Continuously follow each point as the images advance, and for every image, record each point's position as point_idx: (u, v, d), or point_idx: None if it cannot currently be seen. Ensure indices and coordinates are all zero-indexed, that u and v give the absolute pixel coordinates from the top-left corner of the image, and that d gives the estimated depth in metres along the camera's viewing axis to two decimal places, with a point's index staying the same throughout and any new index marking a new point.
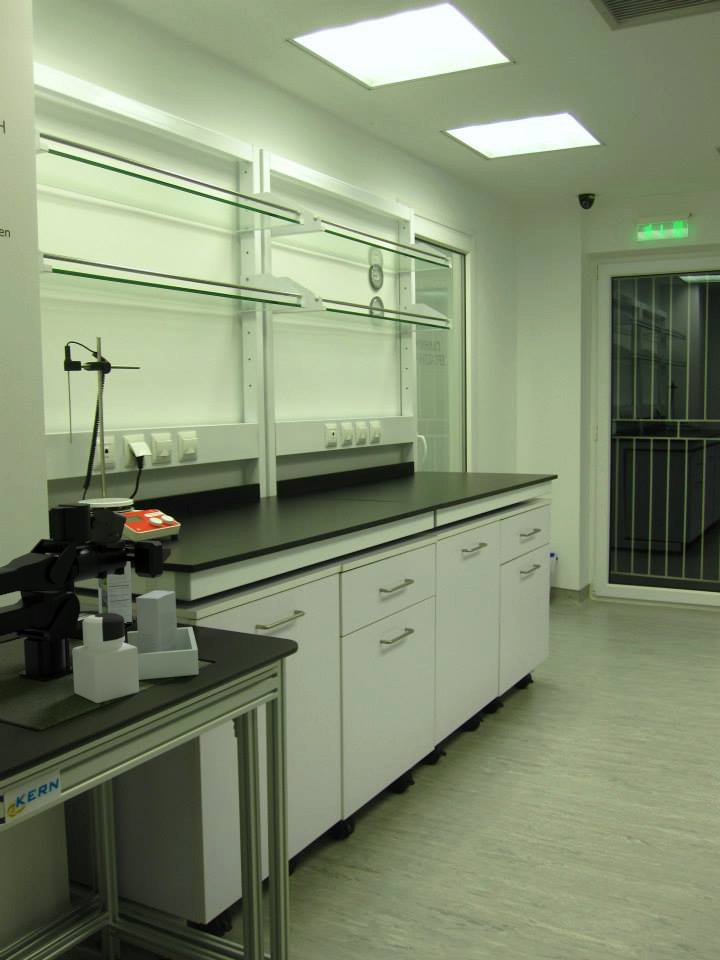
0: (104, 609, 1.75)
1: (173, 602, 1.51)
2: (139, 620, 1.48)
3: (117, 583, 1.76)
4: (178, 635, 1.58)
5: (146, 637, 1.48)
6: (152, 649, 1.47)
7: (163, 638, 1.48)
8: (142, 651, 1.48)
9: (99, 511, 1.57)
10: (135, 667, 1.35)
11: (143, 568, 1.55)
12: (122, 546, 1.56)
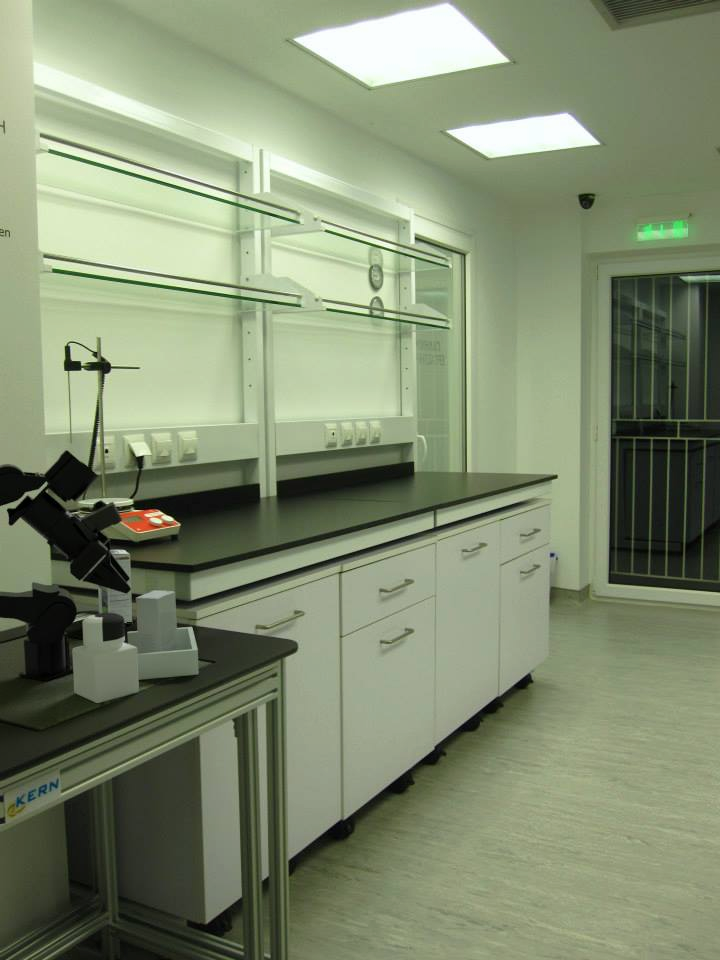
0: (104, 609, 1.75)
1: (172, 602, 1.51)
2: (139, 620, 1.48)
3: None
4: (178, 635, 1.58)
5: (146, 637, 1.48)
6: (152, 649, 1.47)
7: (163, 638, 1.48)
8: (142, 651, 1.48)
9: (111, 502, 1.49)
10: (135, 667, 1.35)
11: (74, 559, 1.39)
12: (89, 537, 1.44)
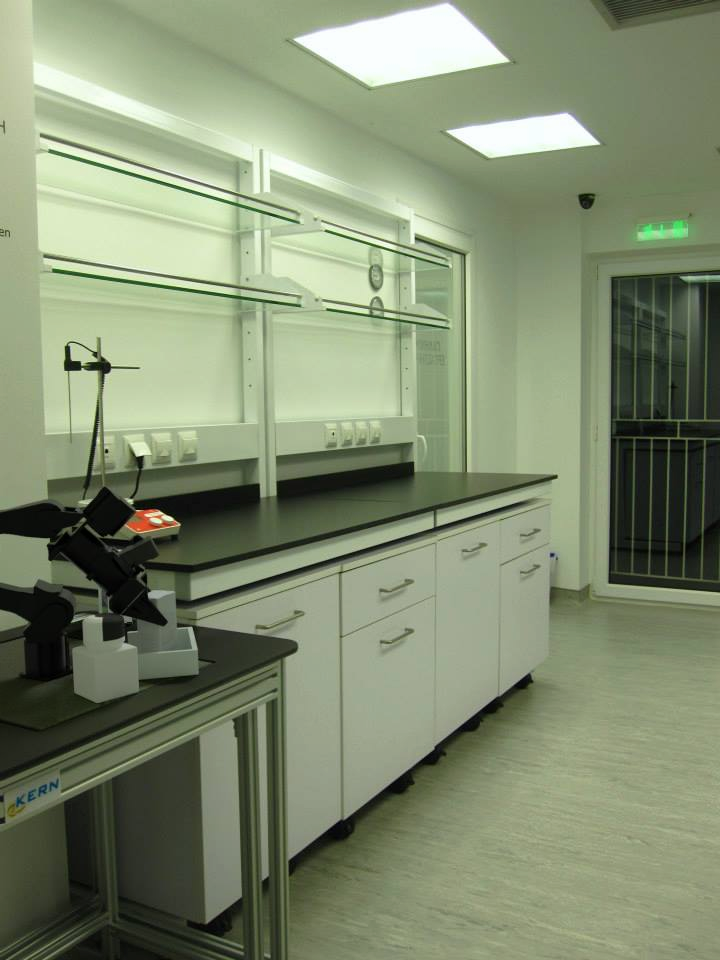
0: (104, 609, 1.75)
1: (173, 602, 1.51)
2: (139, 620, 1.48)
3: None
4: (178, 635, 1.58)
5: (146, 637, 1.48)
6: (152, 649, 1.47)
7: (163, 638, 1.48)
8: (142, 651, 1.48)
9: (149, 536, 1.50)
10: (135, 667, 1.35)
11: (112, 595, 1.41)
12: (127, 572, 1.45)
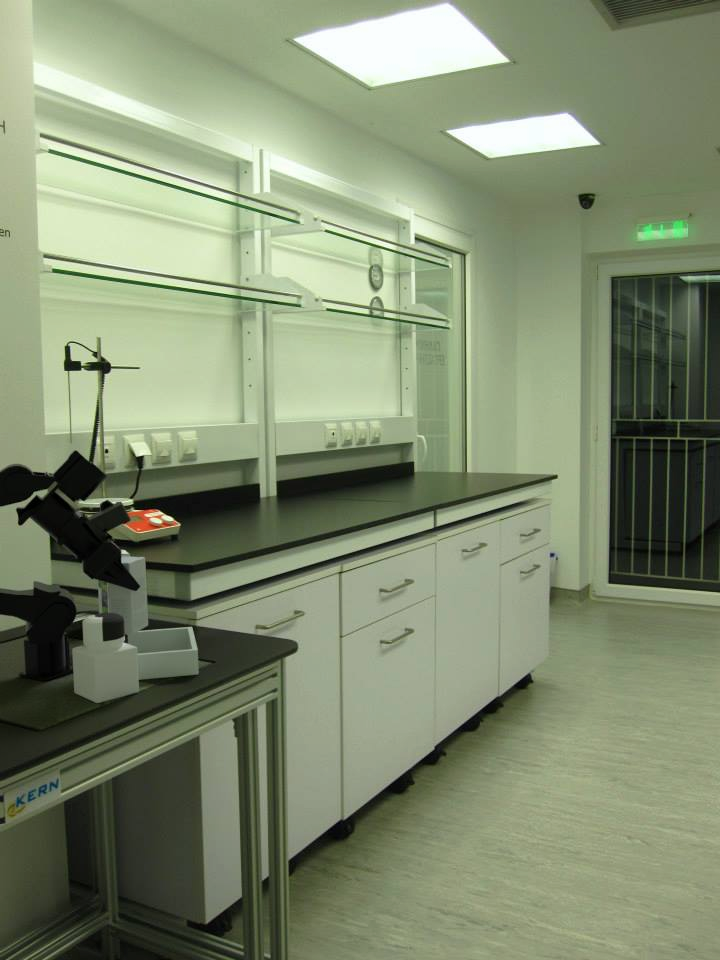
0: (104, 609, 1.75)
1: (143, 567, 1.51)
2: (110, 585, 1.47)
3: None
4: (178, 635, 1.58)
5: (118, 602, 1.47)
6: (124, 614, 1.47)
7: (135, 603, 1.48)
8: None
9: (119, 502, 1.50)
10: (135, 667, 1.35)
11: (86, 558, 1.40)
12: (99, 536, 1.45)
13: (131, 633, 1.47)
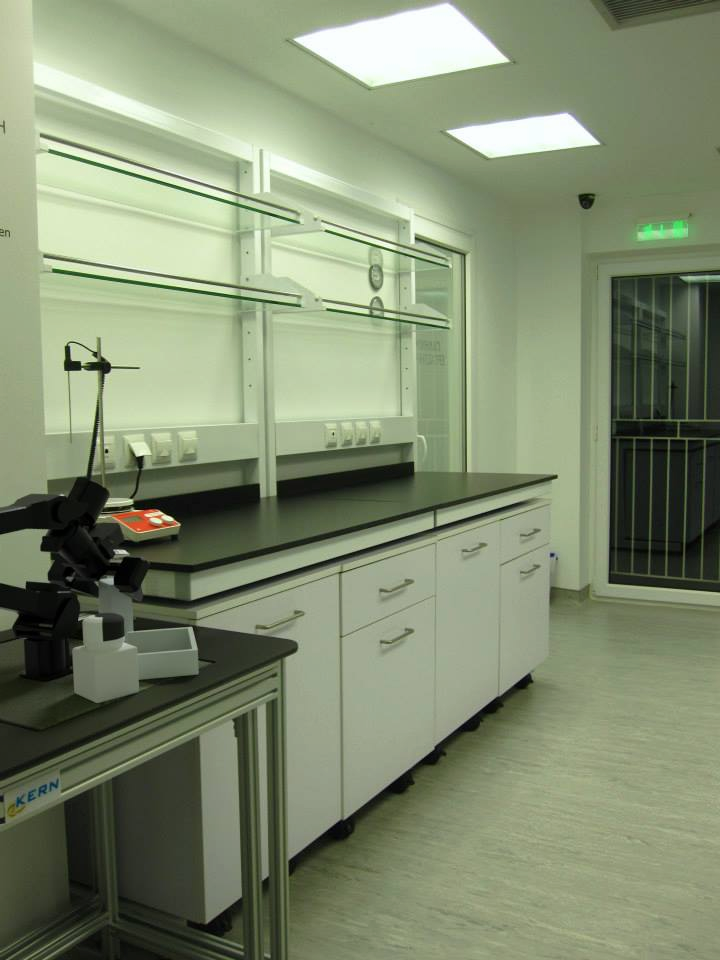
0: None
1: None
2: (113, 605, 1.59)
3: None
4: (178, 635, 1.58)
5: None
6: (126, 630, 1.61)
7: None
8: None
9: (103, 523, 1.61)
10: (135, 667, 1.35)
11: (125, 574, 1.53)
12: (111, 555, 1.57)
13: None
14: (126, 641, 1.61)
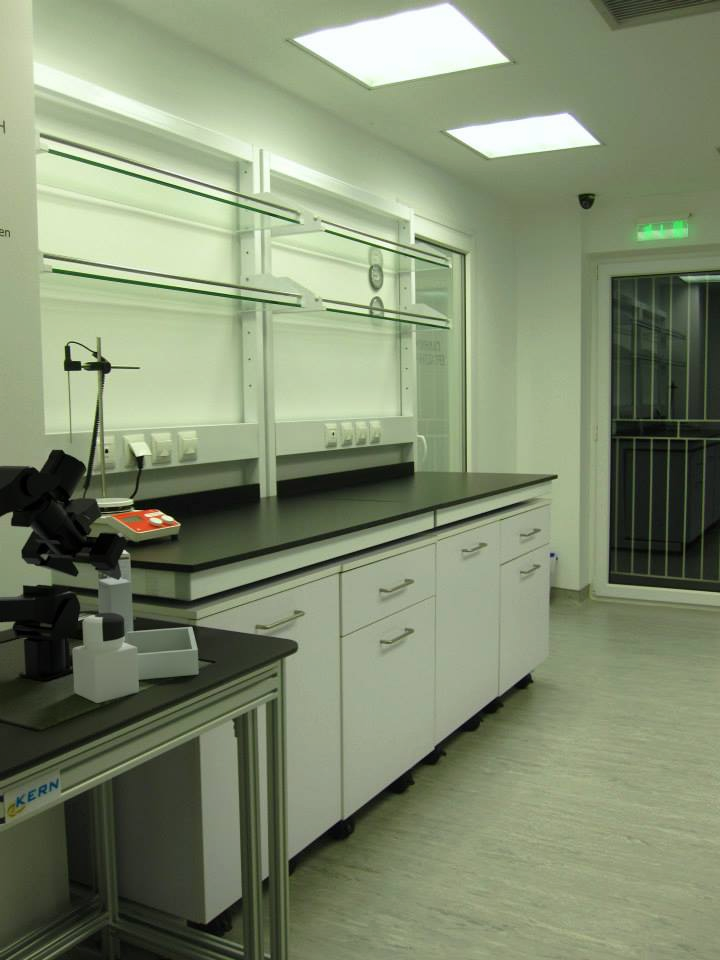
0: None
1: None
2: (113, 605, 1.59)
3: None
4: (178, 635, 1.58)
5: None
6: (126, 630, 1.61)
7: None
8: None
9: (79, 498, 1.55)
10: (135, 667, 1.35)
11: (100, 550, 1.47)
12: (87, 531, 1.51)
13: None
14: (126, 641, 1.61)
